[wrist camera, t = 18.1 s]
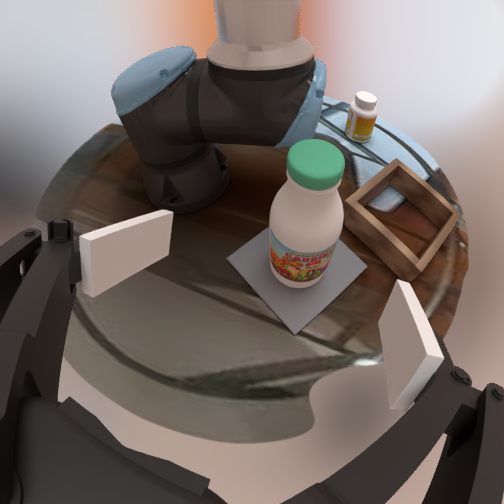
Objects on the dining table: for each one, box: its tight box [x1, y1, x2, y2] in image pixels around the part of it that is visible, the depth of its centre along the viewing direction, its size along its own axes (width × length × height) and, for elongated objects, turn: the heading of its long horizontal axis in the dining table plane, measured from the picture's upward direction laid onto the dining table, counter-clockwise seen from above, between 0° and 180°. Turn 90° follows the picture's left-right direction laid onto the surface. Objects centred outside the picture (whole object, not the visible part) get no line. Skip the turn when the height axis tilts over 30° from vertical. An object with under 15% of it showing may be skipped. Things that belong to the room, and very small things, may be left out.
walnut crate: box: [343, 158, 461, 283], centre depth 38 cm, size 14×14×5 cm
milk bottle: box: [269, 139, 345, 288], centre depth 29 cm, size 8×8×20 cm
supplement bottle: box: [345, 91, 377, 143], centre depth 46 cm, size 5×5×10 cm
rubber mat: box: [227, 227, 367, 335], centre depth 39 cm, size 14×14×1 cm
